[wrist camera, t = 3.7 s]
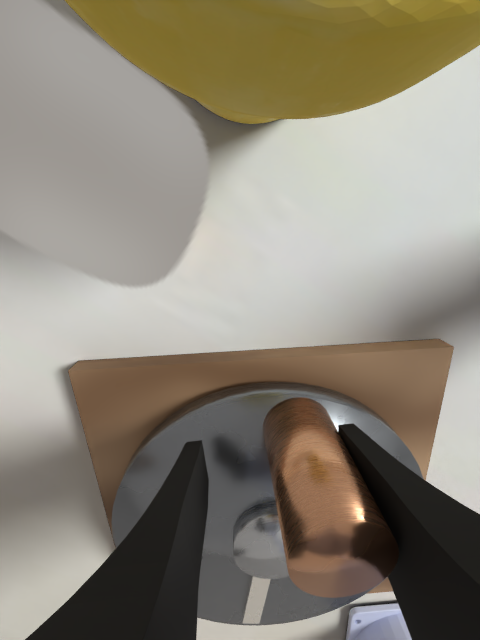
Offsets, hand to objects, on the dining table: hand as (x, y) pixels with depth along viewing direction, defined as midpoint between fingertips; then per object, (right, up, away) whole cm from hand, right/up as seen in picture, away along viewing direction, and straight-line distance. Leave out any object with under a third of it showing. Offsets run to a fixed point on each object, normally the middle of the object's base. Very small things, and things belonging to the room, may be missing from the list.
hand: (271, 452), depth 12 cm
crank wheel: (0, -5, +4) cm, 7 cm away
